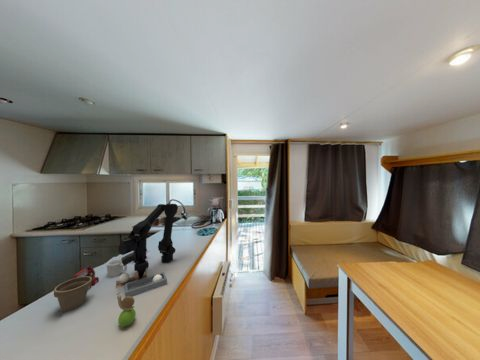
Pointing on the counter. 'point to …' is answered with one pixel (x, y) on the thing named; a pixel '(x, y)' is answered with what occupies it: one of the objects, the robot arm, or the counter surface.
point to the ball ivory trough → (157, 278)
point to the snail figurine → (126, 310)
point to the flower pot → (72, 292)
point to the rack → (131, 279)
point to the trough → (146, 287)
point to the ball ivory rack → (124, 278)
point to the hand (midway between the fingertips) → (139, 275)
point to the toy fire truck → (90, 273)
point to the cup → (115, 267)
